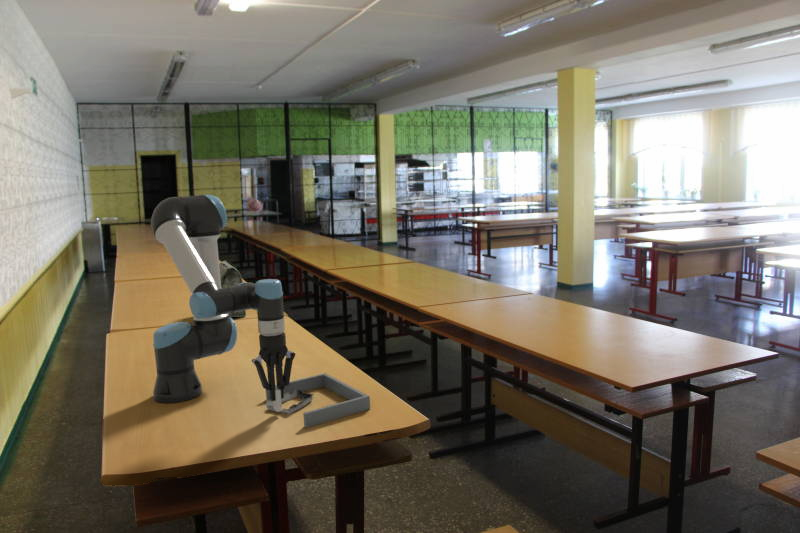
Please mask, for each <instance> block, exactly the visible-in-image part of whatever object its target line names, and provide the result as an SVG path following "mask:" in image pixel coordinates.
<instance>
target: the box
mask: <svg viewBox="0 0 800 533" xmlns="http://www.w3.org/2000/svg"><path fill="white" fill-rule="evenodd" d="M276 387H277V384H275V388H276ZM323 387H325V388H326V387H327V388H326V389H328V388H329V389H328V390H330V391H332V392H334V393H335V394H338V395H339V396H341V397H343V398H344V399H347V400H345V401H342V402H337V403H334V404H330V405H326V406H323V407H320V408H316V409H312V410H309V411H306V412H302V414H303V425H304V428H310V427H313V426H317V425H320V424H323V423H327V422H330V421H335V420H337V419H340V418H344V417H347V416H351V415H355V414H357V413H362V412H364V411H368V410H371V398H370V397H371V396H370V395H368V394H366V393H365V392H362V391H361V390H359V389H357V388H354V387H353V386H350V385H349V384H347V383H346V382H343V381H341V380H340V379H337V378H335V377H333V376H331V375H329V374H328V373H326V372H325V373H320V374H316V375H312V376H308V377H303V378H299V379H296V380H291V381H289V385H286V386H285V388H284V389H283V393H284V394H286V393H290V394H292V393H293V391H294V392H295V390H296V389H300V390H301V391H303V392H304V393H305V392H307V390H308V391H311V389H312V390H315V388H316V389H318V388H319V389H320V388H323ZM265 397H266V398H265V400H266V401H268V400H271V399H270V391H269V390H266V389H265Z"/></svg>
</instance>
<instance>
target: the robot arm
mask: <svg viewBox="0 0 800 533" xmlns="http://www.w3.org/2000/svg"><path fill="white" fill-rule="evenodd" d="M150 220H151V221H150V227H151V230H152V234H153V235H154V237H155V239H156V241H157V242H158V243H160V244H163V246H164V248H165V249H166V251H167V254H168V255H169V257H170V258H171V260H172V262H173V264H174V265H175V268H176V269H177V271H178V272H179V274H180V276H181V278H182V279H183V281H184V283H185V284H186V286H187V288H188V290H189V291H190V293H191V295H190V296H189V303H188V304H189V309H190V312H191V314H192V316H193V317H192V321H193V323H192V324H190V322H188V321H178V322H172V323H169V324H166V325H163V326H160V327H159V328H157V329H156V330H155V331H154V333H153V336H152V337H153V349H154V350H153V351H154V357H155V368H156V378H155V382H154V387H153V390H152V395H153V400H154V401H155V402H157V403H161V404H162V403H163V404H164V403H165V404H173V403H182V402H185V401H189V400H192V399H194V398H196V397H198V396H200V395H201V394H202V393H203V387H202V383H201V381H200V378H199V376H198V373H197V371H196V369H195V361H196V360H200V359H203V358H207V357H208V358H209V357H212V356H216V355H217V356H218V355H222V354H225V353H227V352H230V351H231V350H233V348H234V347H235V345H236V344H237V339H238V329H237V326H236V322H235V320H234V319H233V317H231V318H229V315H228V313H234V312H239V311H244V310H245V311H249V310H254V311H256V313H257V327H258V333H259V335H258V339H259V340H258V341H259V348H260V349H259V352H258V356H256V358H253V359H252V360H251V363H252V364H253V365H254V366H255V368H256V372H257V374H258V377H259V380H260V383H261V386H262V388H263V389H265V391H266V390H269V391H270V399H271V400H272V401H273V406H274V407H273V408H274V410H275V411H274V412H277V413H280V412H279V411H282V410H283V408H282V406H283V405H282V404H283V403H281V399H283V398H284V393H283V389H284V388H285V386H286V385H289V382H291V381H290V380H291V374H292V368H293V367H292V366H293V361H294V359H295V357H296V353H295V352H294V351H291V350H289V349H288V347H287V344H286V343H287V340H286V332H285V329H286V326H285V312H284V291H283V286H282V282H281V280H279V279H276V278H273V279H272V278H268V279H267V278H266V279H265V278H264V279H260V280H257V281H255V283H254V282H250V281H248V282H243V283H240V284H239V285H237V286H234V287H229V288H222V289H221V279H220V268H219V264H220V260H219V259H220V258H219V247H218V239H219V238H220V237H221V235H222V231H221V230H223V229H224V228H226V226H227V222H228V216H227V211H226V208H225V205H224V203H223V202H222V201H221V199H220V198H219V197H218V196H216V195H211V194H201V195H197V194H196V195H187V196H186V195H185V196H172V197H167V198H165V199H164V200H161V201H160V202H159V203H158V204H157V205H156V207H155V208H154V210H153V213H152V215H151V219H150ZM284 359H285V360H284ZM262 360H263V361H262ZM283 361H285V362H284V364H283ZM263 362H264V363H265V364H266V365H265V366H266V368H267V369H266V370H267V371H266V372H267V375H266V373H265V370H264V367H263V365H262V364H263ZM283 365H284V366H283ZM283 367H284V368H283ZM275 385H277V387H276V388H275Z"/></svg>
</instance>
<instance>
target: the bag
mask: <svg viewBox="0 0 800 533" xmlns="http://www.w3.org/2000/svg"><path fill="white" fill-rule="evenodd" d="M219 268H220V279H221V289H222V288H229V287H234V286H237V285H239V284H240V283H244V282H243V278H242V275H241V273H240V271H239V270H237V268H236V267H234V266H232V265H231V264H230V263H229V262H227V260H223V261H221V262H219ZM246 311H247V310H244V311H239V312H234V313H228V315H229V318H245V317H246V316H247V312H246Z"/></svg>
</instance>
